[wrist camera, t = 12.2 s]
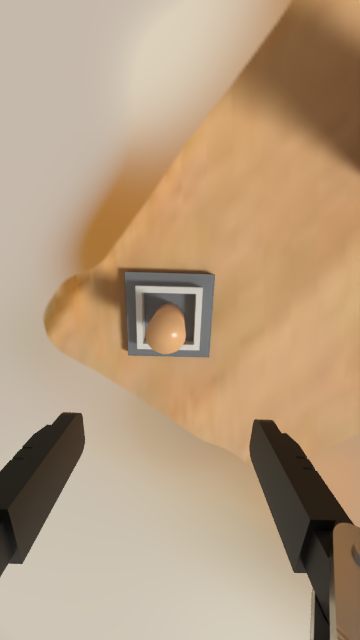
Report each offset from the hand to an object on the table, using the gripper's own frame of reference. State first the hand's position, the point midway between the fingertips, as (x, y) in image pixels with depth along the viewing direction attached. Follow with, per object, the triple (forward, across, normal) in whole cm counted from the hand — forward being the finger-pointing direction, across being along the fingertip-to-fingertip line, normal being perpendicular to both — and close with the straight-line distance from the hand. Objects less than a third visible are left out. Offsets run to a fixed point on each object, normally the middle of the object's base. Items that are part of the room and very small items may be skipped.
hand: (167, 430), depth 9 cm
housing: (+20, +1, -1) cm, 20 cm away
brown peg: (+18, +1, -1) cm, 18 cm away
